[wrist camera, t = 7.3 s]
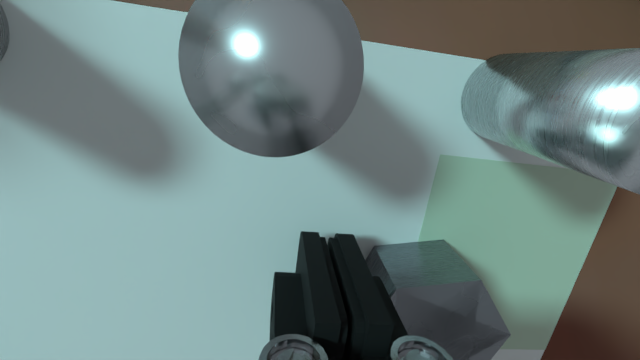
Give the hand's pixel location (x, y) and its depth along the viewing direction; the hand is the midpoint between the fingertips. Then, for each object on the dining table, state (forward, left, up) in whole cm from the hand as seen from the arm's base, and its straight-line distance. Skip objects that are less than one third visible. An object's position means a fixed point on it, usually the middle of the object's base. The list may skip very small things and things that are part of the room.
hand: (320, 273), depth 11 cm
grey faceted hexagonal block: (-1, -4, -1) cm, 4 cm away
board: (0, +2, -2) cm, 3 cm away
